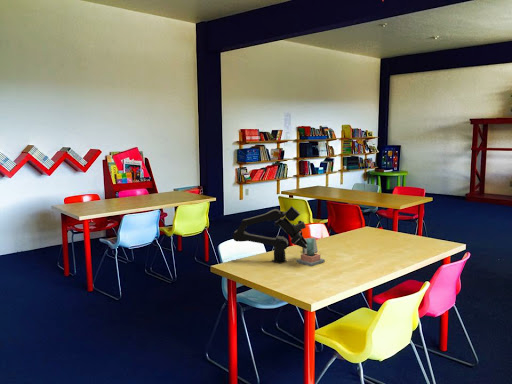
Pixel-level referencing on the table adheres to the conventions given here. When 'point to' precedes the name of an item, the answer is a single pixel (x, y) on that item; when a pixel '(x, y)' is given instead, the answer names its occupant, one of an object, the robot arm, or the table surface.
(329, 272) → the table surface
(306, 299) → the table surface
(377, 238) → the table surface
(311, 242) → the peg
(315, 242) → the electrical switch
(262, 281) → the table surface
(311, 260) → the socket plate
